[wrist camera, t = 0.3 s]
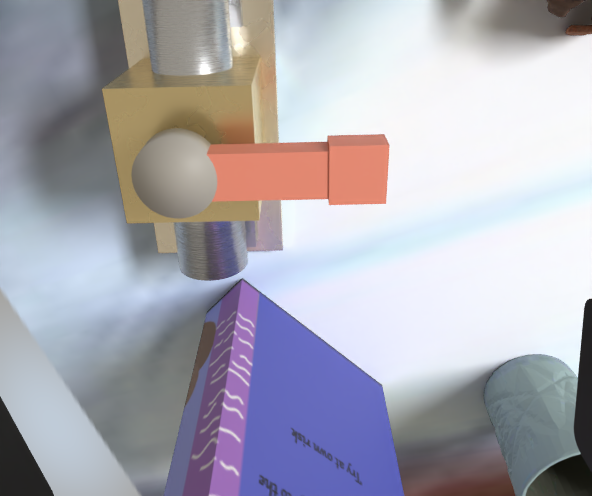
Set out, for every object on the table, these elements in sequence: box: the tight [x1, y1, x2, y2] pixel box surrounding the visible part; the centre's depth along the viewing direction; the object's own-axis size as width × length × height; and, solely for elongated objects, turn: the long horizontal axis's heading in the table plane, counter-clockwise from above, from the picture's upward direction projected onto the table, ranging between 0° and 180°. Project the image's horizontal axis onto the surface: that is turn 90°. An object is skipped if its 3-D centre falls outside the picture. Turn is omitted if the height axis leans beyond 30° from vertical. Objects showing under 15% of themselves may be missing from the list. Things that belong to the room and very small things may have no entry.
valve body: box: [102, 0, 283, 280], centre depth 35 cm, size 22×10×12 cm, turn 1°
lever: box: [131, 128, 389, 219], centre depth 30 cm, size 13×4×2 cm, turn 91°
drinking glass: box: [484, 354, 592, 496], centre depth 48 cm, size 10×10×12 cm
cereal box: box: [164, 278, 404, 496], centre depth 40 cm, size 17×5×24 cm, turn 47°
